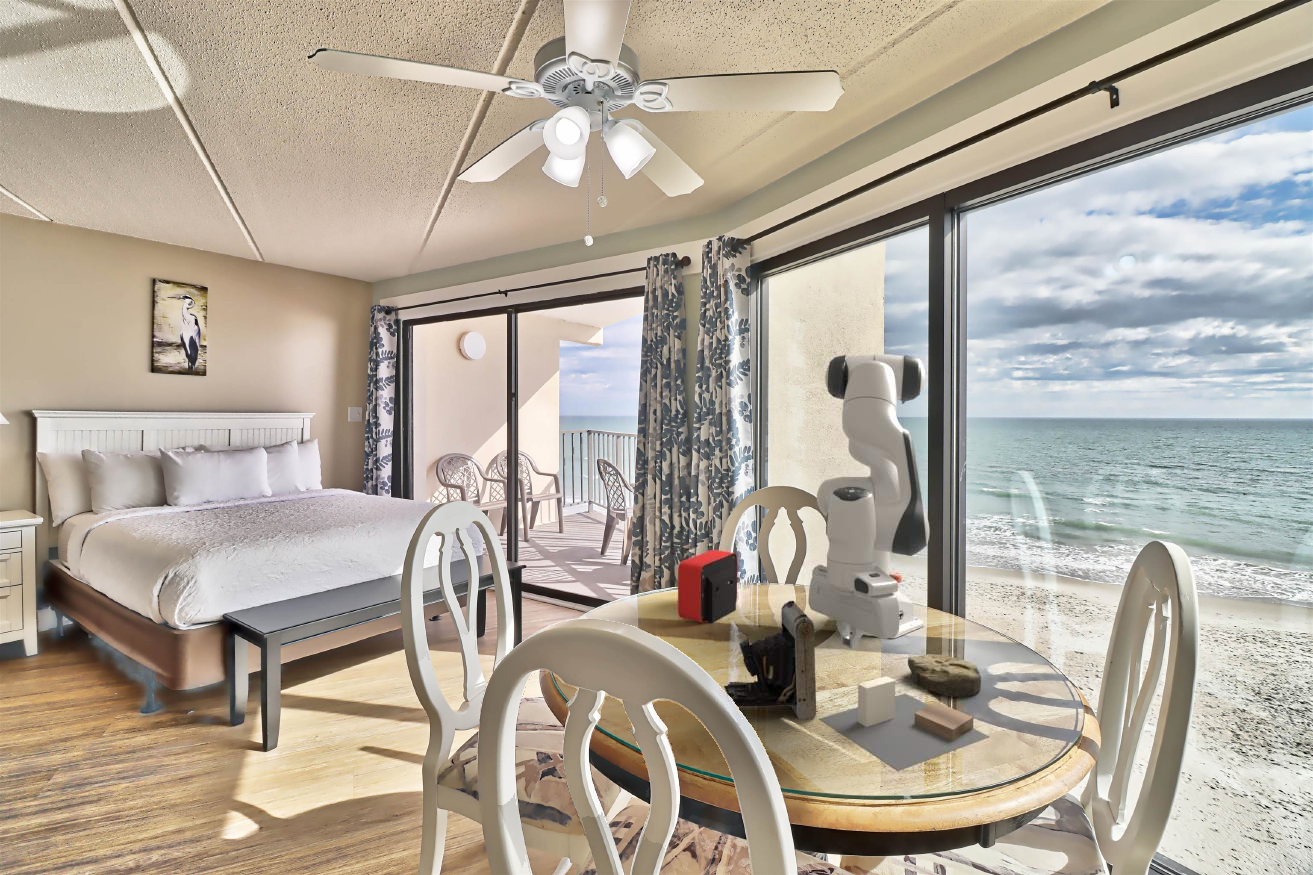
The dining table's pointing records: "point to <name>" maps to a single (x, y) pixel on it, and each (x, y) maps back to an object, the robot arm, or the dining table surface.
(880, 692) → the box
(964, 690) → the stone
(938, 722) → the walnut block
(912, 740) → the mat
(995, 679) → the dining table surface
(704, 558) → the alarm clock
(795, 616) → the vintage camera
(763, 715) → the dining table surface
